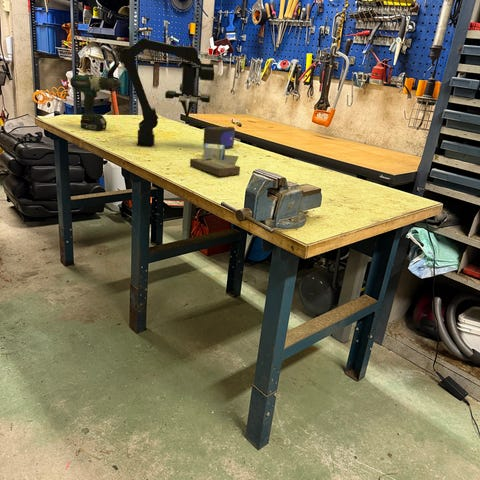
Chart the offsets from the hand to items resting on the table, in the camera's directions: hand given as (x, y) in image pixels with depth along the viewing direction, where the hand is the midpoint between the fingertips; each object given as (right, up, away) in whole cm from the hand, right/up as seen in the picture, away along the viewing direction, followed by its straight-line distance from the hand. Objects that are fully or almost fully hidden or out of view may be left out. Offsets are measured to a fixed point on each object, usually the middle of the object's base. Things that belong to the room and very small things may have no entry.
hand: (187, 117), depth 186 cm
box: (+13, -28, -26) cm, 40 cm away
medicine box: (+8, -16, -9) cm, 20 cm away
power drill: (-45, 0, +21) cm, 50 cm away
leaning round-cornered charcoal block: (+13, -11, +11) cm, 21 cm away
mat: (+15, -20, -8) cm, 26 cm away
